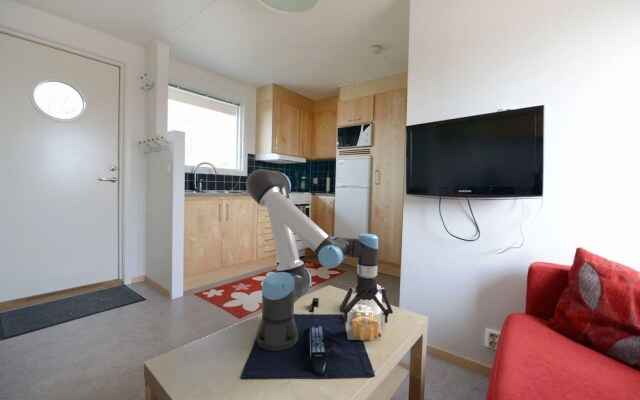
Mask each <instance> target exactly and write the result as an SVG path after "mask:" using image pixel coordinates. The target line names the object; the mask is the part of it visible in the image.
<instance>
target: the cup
mask: <svg viewBox="0 0 640 400" xmlns="http://www.w3.org/2000/svg"><path fill="white" fill-rule="evenodd" d="M356 286H357V284H356ZM356 286H355V287H356ZM381 287H382V285H379V284H378V283H377V288H381ZM356 294H357V293H356V292H355V295H356ZM375 296H376V297H377V299H378V300H379V301H380V303H381V304H382V303H383V302H382V300H383V297H382V295H381V294H380V293H379V292H378V293H377V294H376V295H375ZM356 304H359V305H366V306H368V307H371V308H372V311H373V316H374V315H375V316H376V315H378V314H380V313H381V312H382V310H381V309H380V307H379V306H378V305H377V303H376V302H375V301H374V300H373V299H372V300H362V299H361V300H360V301H359V302H357V303H356Z"/></svg>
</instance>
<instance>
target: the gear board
mask: <svg viewBox="0 0 640 400" xmlns="http://www.w3.org/2000/svg"><path fill="white" fill-rule="evenodd" d="M359 310H364V306H363V305H359ZM343 317H344V314H343ZM363 323H368V318H367V317H363ZM346 324H347V322H345V321H344V325H345V332H346V336H347V340H349V341H350V340H354V341H361V340H360V337H358V336H357V337H354V336H353V332H352V323H351V322H350V318H349V332H347V328H346ZM364 341H370V340H369V339H364ZM373 341H381V338H380V336H379V334H378V338H377V337H374V340H373Z"/></svg>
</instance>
